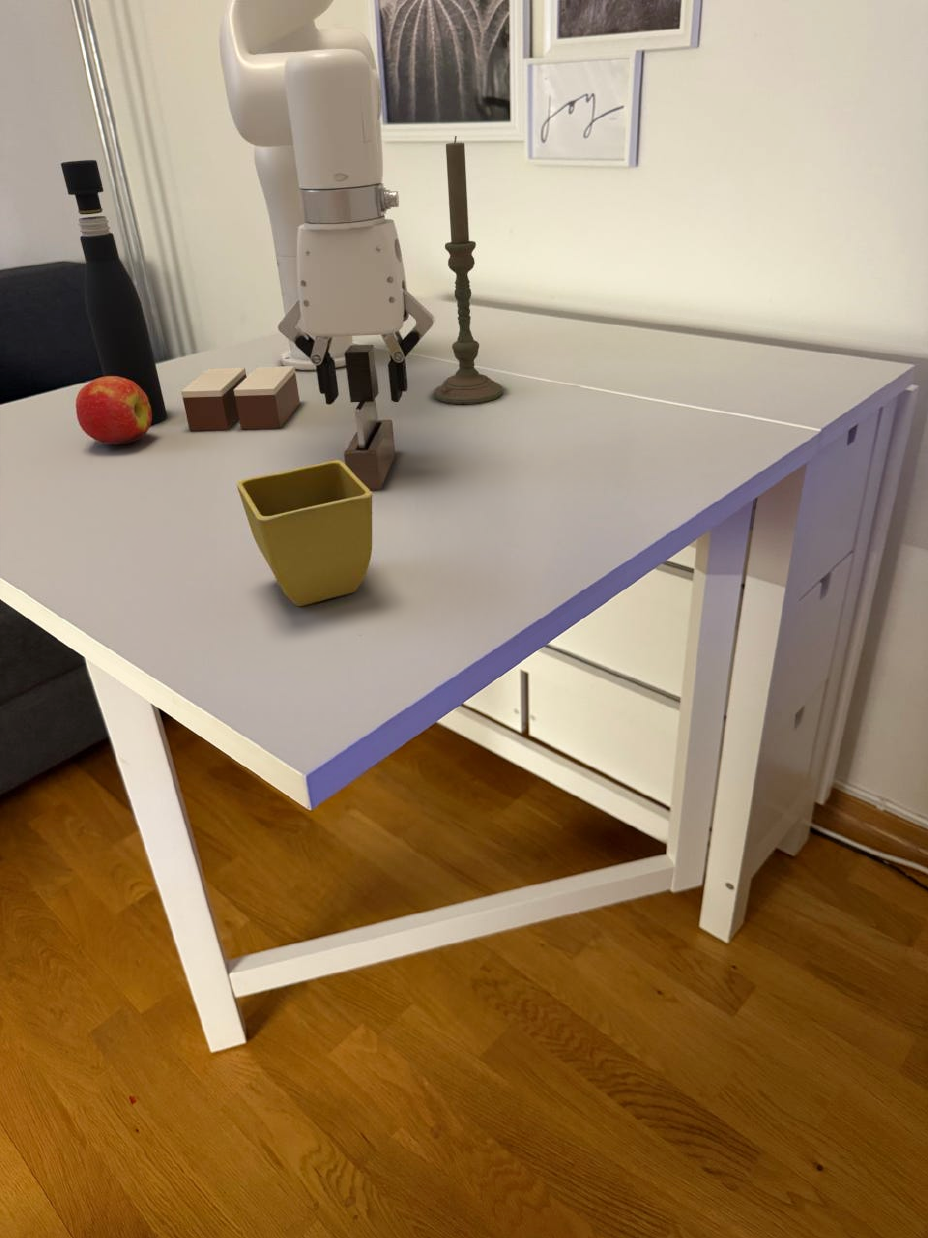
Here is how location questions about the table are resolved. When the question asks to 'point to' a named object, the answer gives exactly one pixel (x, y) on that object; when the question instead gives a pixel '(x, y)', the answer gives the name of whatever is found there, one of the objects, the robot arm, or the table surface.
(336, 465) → the flower pot
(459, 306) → the candlestick holder
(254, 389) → the cake slice
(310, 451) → the table surface
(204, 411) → the cake
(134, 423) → the apple
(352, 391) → the knife
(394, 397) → the robot arm
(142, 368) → the wine bottle
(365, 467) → the knife block
